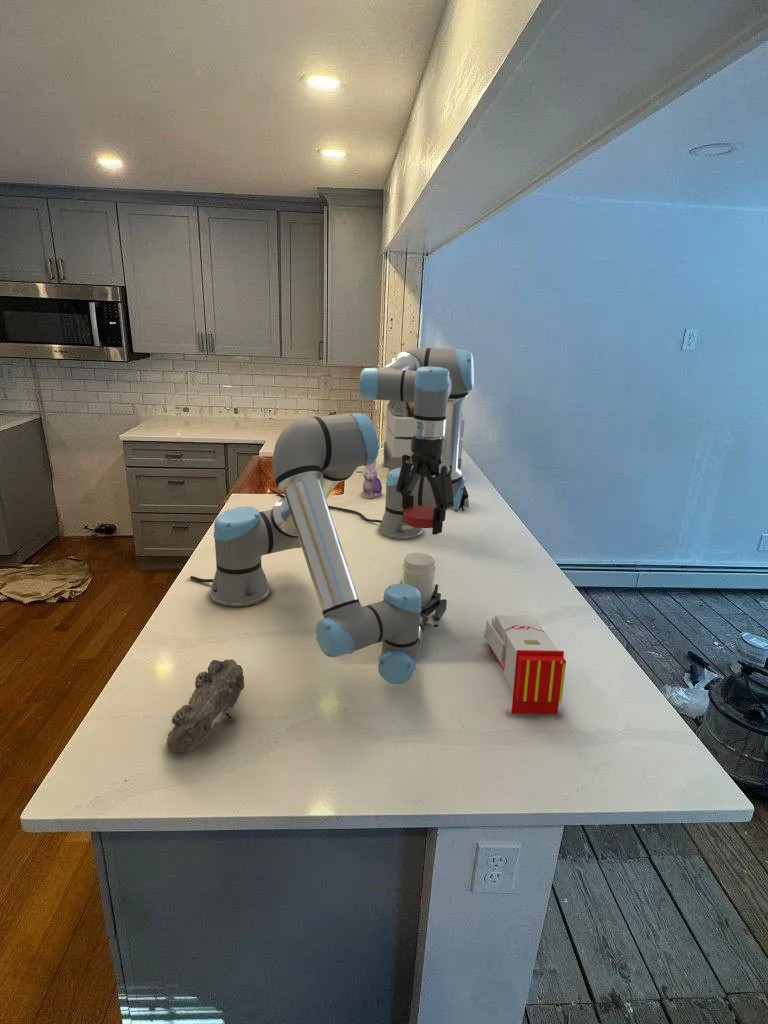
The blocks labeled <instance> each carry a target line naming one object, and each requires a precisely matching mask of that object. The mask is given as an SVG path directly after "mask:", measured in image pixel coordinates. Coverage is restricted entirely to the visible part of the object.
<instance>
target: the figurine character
mask: <svg viewBox="0 0 768 1024" xmlns="http://www.w3.org/2000/svg"><path fill="white" fill-rule="evenodd" d="M469 505H470V500H469V492H468V490H467V488H466V485H464V489H463V493H462V498H461V502H460V506H459V508H458V509H461V511H462V512H464V511H465V508H469ZM458 509H456V510H455V511H456V512H457V511H458Z"/></svg>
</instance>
